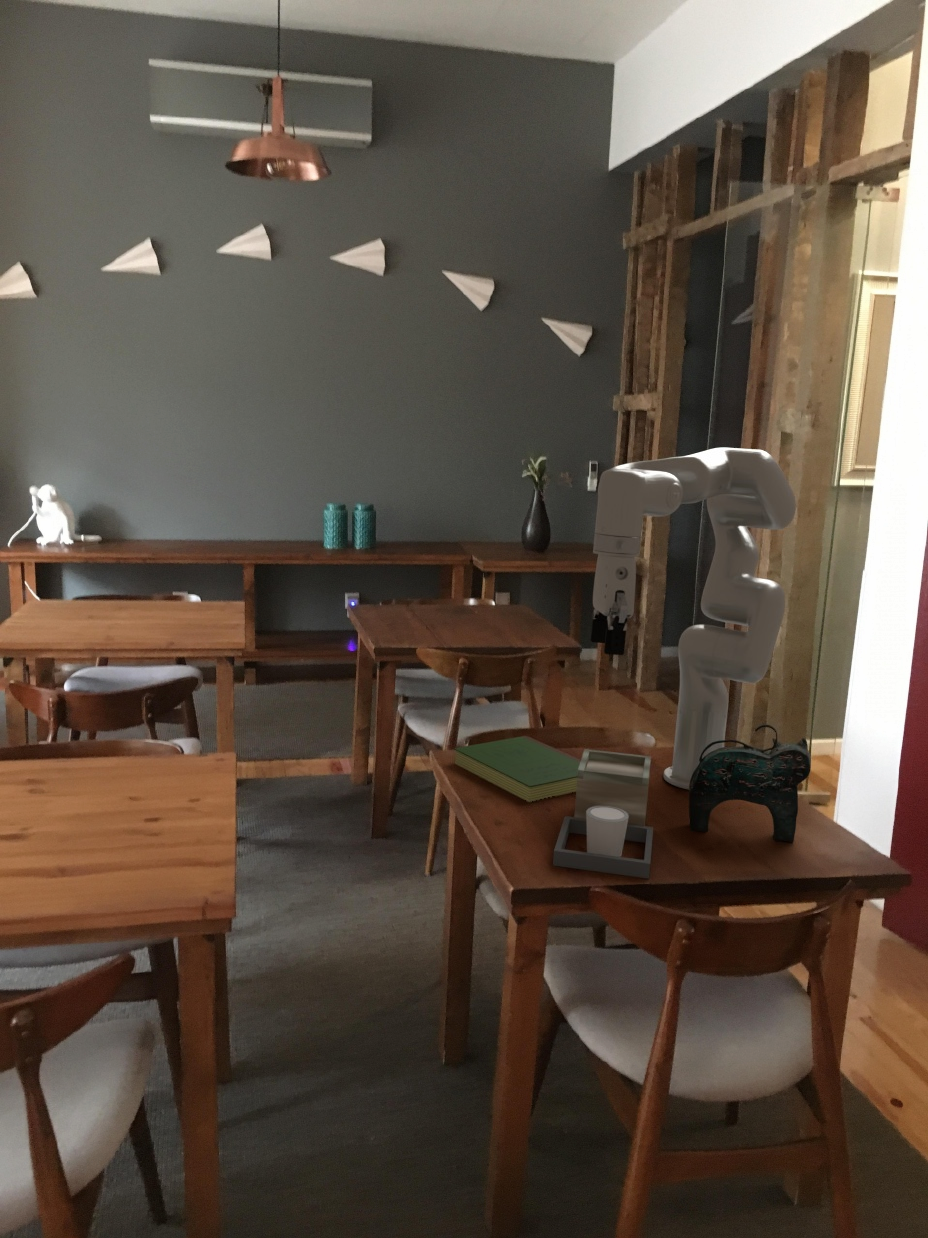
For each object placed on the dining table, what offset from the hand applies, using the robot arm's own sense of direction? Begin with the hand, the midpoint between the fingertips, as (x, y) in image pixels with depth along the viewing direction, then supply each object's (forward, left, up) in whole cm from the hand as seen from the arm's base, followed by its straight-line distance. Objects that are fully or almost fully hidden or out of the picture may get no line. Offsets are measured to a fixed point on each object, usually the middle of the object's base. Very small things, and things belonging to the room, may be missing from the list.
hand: (606, 648), depth 169 cm
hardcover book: (-24, -15, -33) cm, 44 cm away
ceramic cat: (-7, +26, -33) cm, 42 cm away
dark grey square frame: (+9, +3, -32) cm, 34 cm away
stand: (-6, +3, -32) cm, 33 cm away
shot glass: (+9, +3, -33) cm, 34 cm away
